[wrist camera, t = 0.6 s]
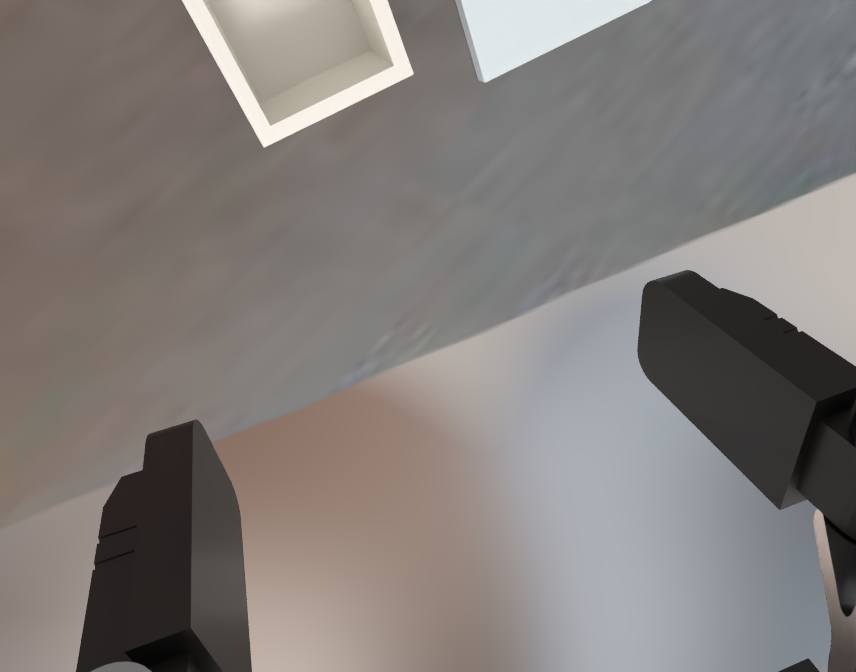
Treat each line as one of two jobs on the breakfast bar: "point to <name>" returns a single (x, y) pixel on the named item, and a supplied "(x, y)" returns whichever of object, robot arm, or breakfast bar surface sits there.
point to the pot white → (300, 56)
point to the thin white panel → (529, 28)
